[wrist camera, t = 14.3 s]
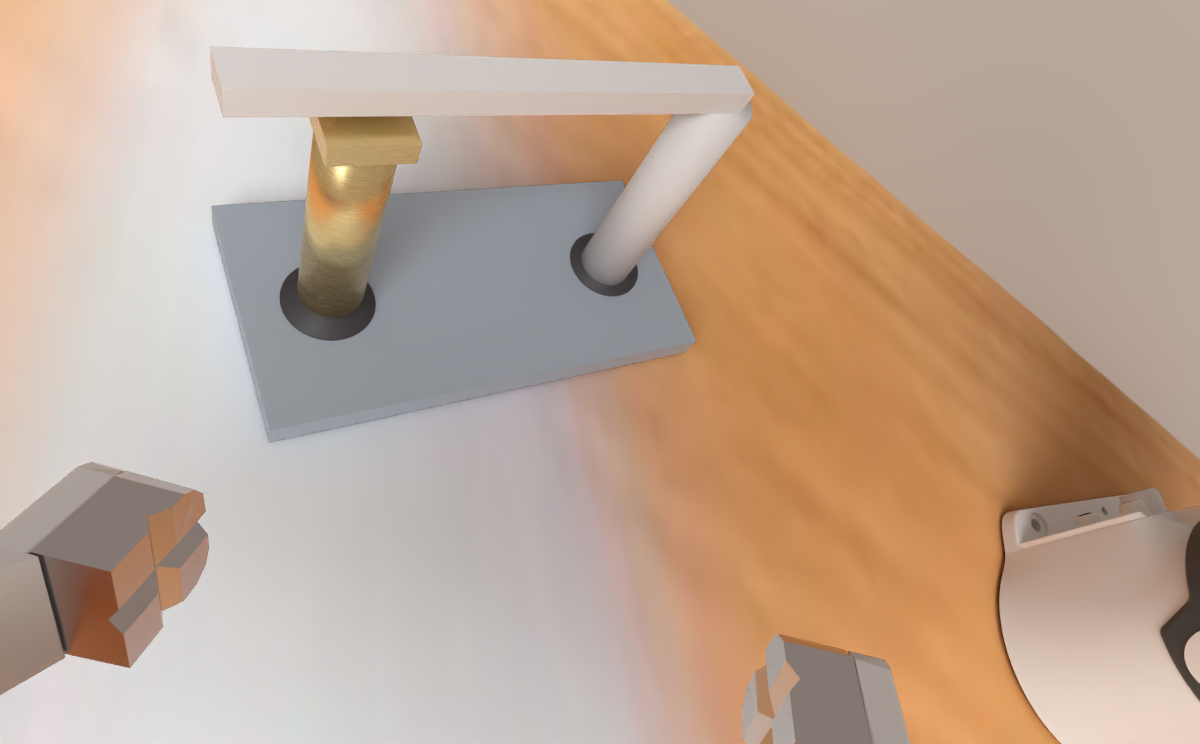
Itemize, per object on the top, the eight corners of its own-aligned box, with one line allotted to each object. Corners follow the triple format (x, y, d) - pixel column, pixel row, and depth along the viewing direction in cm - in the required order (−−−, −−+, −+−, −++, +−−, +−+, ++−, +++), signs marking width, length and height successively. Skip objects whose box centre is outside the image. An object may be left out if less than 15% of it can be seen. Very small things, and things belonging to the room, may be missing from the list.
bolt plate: (612, 194, 49) (748, -14, 36) (684, 352, 45) (864, 186, 32) (201, 225, 36) (175, -78, 23) (257, 445, 33) (263, 236, 20)
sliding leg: (354, 264, 37) (396, 73, 26) (372, 319, 36) (422, 144, 25) (286, 271, 35) (302, 71, 25) (303, 329, 34) (327, 146, 24)
